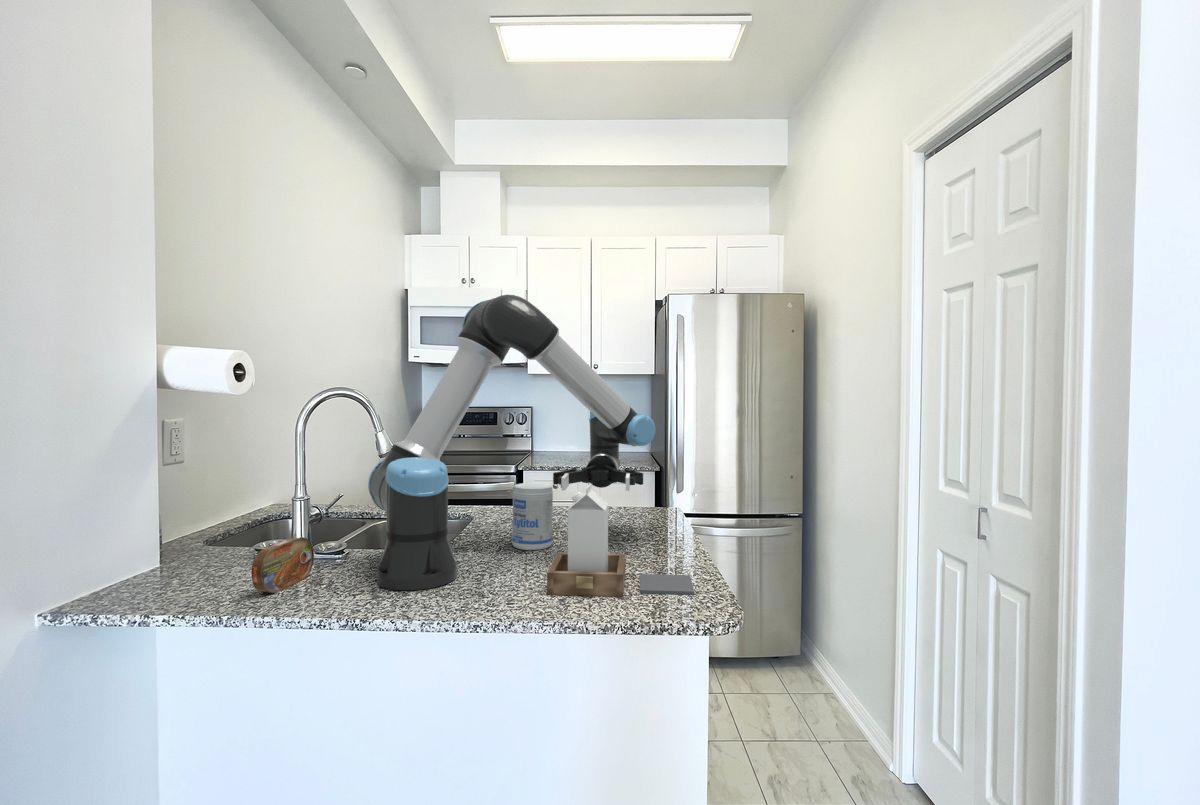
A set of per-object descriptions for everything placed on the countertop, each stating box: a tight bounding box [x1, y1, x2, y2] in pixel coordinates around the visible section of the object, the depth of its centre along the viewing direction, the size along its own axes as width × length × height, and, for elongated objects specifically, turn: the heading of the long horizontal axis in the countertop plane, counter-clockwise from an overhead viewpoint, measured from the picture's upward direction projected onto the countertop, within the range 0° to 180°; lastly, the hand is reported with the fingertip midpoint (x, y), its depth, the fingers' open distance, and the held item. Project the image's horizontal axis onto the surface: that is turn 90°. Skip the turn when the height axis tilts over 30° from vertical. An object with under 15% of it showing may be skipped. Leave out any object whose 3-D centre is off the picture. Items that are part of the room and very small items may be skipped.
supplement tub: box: [511, 482, 554, 551], centre depth 146 cm, size 10×10×15 cm
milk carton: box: [567, 483, 609, 572], centre depth 118 cm, size 7×7×19 cm
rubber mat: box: [639, 573, 695, 596], centre depth 117 cm, size 10×10×1 cm
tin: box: [251, 536, 315, 594], centre depth 116 cm, size 15×3×8 cm, turn 171°
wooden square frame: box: [546, 552, 627, 598], centre depth 117 cm, size 14×15×4 cm
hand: (595, 484), depth 128 cm, fingers open, 13 cm apart
